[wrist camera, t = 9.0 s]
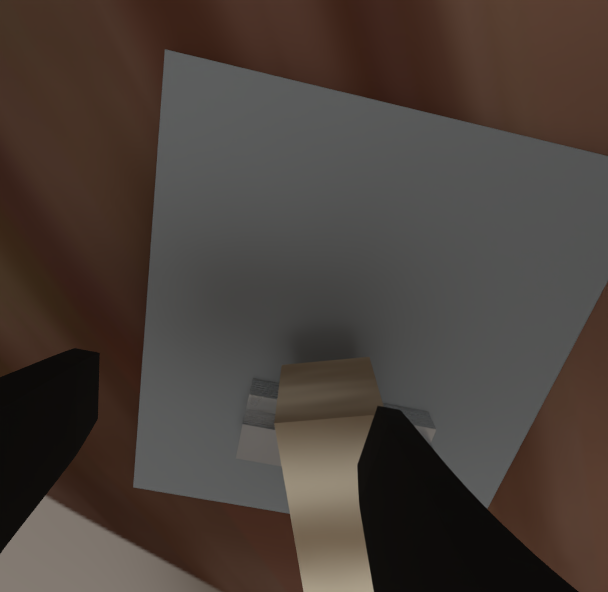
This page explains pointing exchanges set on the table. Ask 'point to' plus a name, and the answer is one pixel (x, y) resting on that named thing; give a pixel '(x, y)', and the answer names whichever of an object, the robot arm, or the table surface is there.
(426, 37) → the table surface
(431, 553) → the robot arm
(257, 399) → the fulcrum
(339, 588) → the beam
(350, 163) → the mat
